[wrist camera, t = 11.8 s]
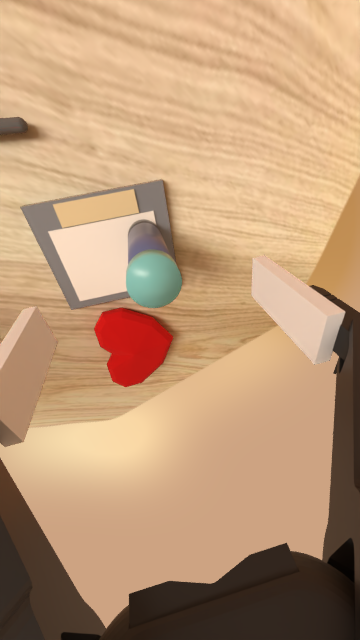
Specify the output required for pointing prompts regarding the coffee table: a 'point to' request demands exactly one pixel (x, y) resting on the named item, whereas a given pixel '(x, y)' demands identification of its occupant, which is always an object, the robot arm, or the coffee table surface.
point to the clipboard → (96, 238)
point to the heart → (132, 344)
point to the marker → (150, 267)
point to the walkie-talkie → (12, 125)
